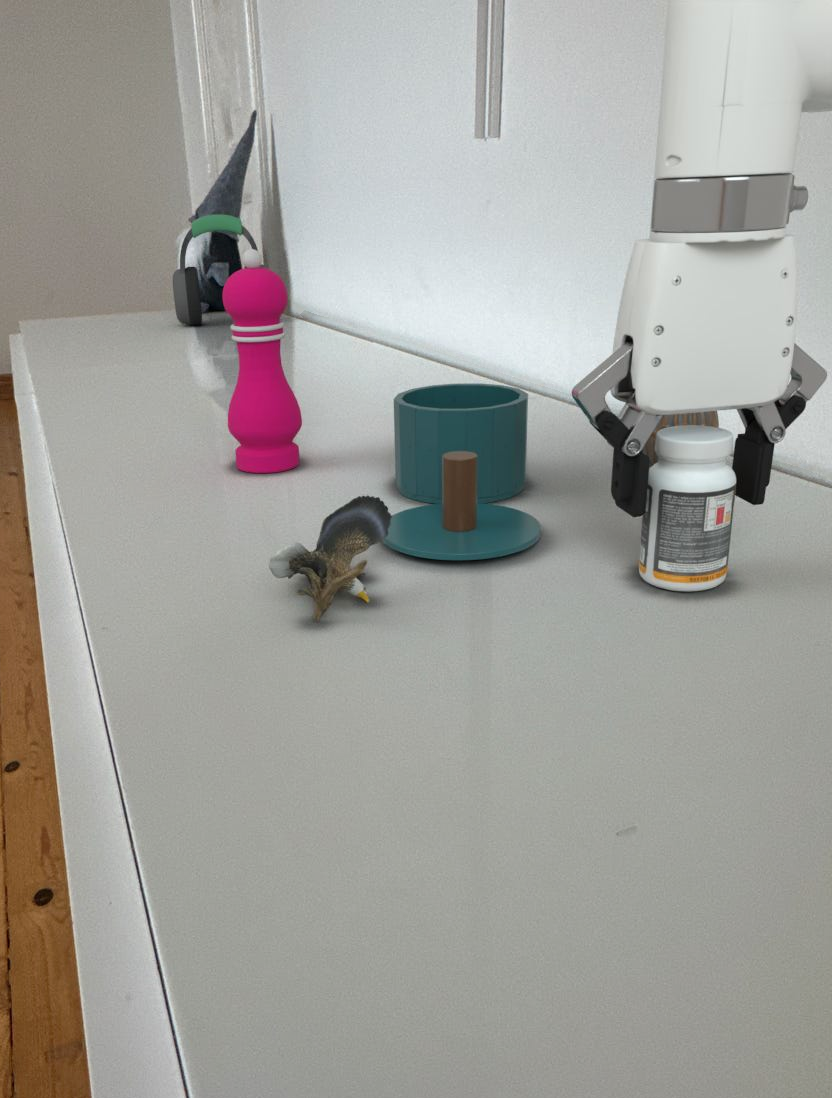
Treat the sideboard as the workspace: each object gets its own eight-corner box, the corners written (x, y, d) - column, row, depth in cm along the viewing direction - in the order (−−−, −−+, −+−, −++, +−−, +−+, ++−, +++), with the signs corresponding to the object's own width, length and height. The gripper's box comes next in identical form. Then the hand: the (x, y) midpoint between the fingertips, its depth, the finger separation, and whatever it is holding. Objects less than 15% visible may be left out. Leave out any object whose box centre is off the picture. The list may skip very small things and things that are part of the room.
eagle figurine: (404, 609, 62) (417, 536, 69) (335, 524, 59) (356, 457, 66) (310, 660, 65) (331, 585, 72) (239, 581, 62) (269, 512, 70)
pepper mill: (237, 457, 102) (217, 248, 94) (307, 454, 102) (294, 244, 94) (226, 476, 96) (205, 253, 87) (301, 473, 95) (287, 250, 87)
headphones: (271, 317, 205) (264, 211, 197) (274, 323, 196) (266, 213, 187) (179, 322, 204) (167, 216, 195) (177, 329, 194) (164, 218, 185)
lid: (510, 509, 83) (512, 430, 80) (564, 558, 72) (569, 468, 69) (366, 523, 81) (363, 443, 78) (399, 576, 70) (397, 485, 67)
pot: (501, 464, 96) (503, 379, 92) (543, 497, 85) (546, 403, 82) (385, 475, 94) (382, 389, 90) (413, 510, 84) (411, 415, 80)
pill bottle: (743, 580, 67) (762, 432, 63) (687, 601, 64) (703, 448, 60) (674, 557, 71) (688, 418, 67) (619, 577, 68) (629, 432, 64)
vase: (669, 483, 87) (679, 382, 84) (619, 466, 93) (626, 370, 90) (730, 472, 90) (742, 372, 86) (678, 455, 96) (687, 361, 92)
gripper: (817, 203, 62) (778, 478, 70) (552, 217, 60) (541, 501, 67) (897, 205, 56) (845, 509, 63) (602, 221, 53) (583, 536, 61)
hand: (688, 503), depth 65 cm, fingers open, 7 cm apart
